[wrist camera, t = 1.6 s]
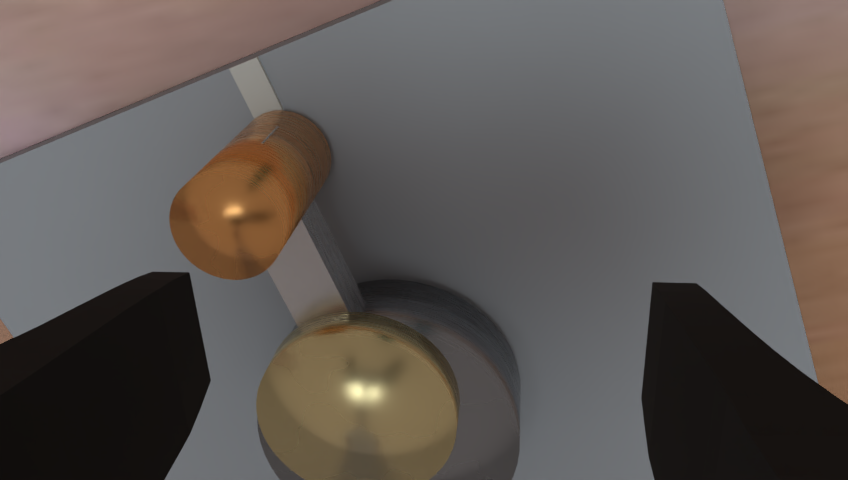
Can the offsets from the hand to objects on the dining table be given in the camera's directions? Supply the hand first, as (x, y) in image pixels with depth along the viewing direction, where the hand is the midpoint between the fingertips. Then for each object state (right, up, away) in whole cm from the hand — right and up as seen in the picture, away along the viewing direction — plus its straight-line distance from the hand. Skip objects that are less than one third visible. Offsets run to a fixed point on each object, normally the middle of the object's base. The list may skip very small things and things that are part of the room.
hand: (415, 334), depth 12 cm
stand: (0, -2, +12) cm, 12 cm away
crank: (-2, -1, +10) cm, 10 cm away
